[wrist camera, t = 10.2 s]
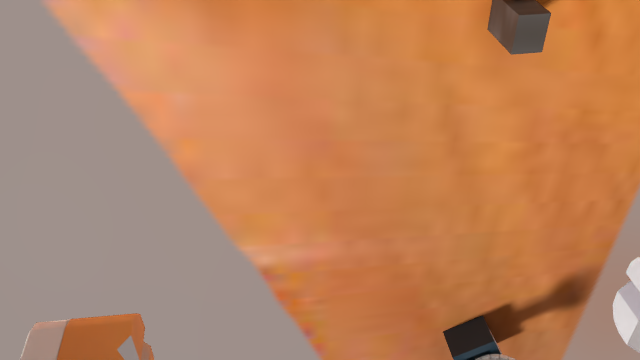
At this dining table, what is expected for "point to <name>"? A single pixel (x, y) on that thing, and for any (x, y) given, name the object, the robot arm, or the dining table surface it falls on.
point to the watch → (473, 342)
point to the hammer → (519, 25)
